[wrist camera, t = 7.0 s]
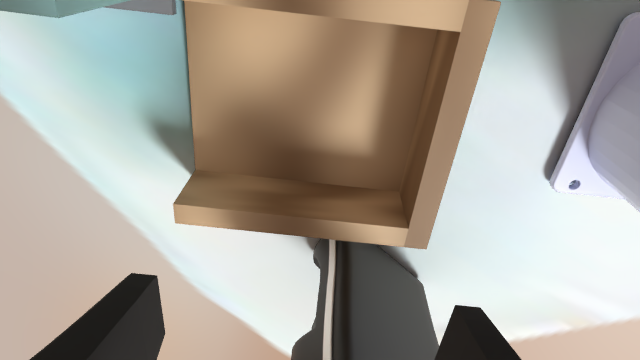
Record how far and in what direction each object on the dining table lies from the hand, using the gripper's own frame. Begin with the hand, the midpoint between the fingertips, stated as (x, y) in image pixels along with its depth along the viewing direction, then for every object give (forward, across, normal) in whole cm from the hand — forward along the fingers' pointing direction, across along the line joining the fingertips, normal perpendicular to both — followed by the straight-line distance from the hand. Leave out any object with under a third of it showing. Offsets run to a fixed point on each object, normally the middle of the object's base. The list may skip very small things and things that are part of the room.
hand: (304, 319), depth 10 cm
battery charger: (+11, -3, +8) cm, 13 cm away
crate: (+10, 0, -2) cm, 11 cm away
